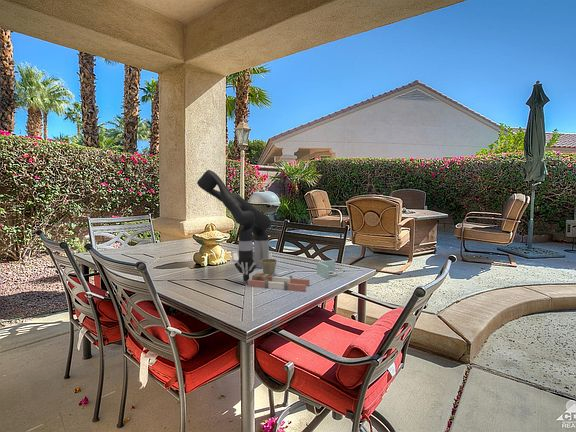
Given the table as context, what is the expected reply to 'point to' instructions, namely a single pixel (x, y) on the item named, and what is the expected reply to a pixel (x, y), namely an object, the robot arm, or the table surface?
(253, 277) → the walnut block
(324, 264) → the right angle wall
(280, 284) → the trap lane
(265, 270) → the flower pot
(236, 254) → the citrus juicer
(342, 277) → the table surface
